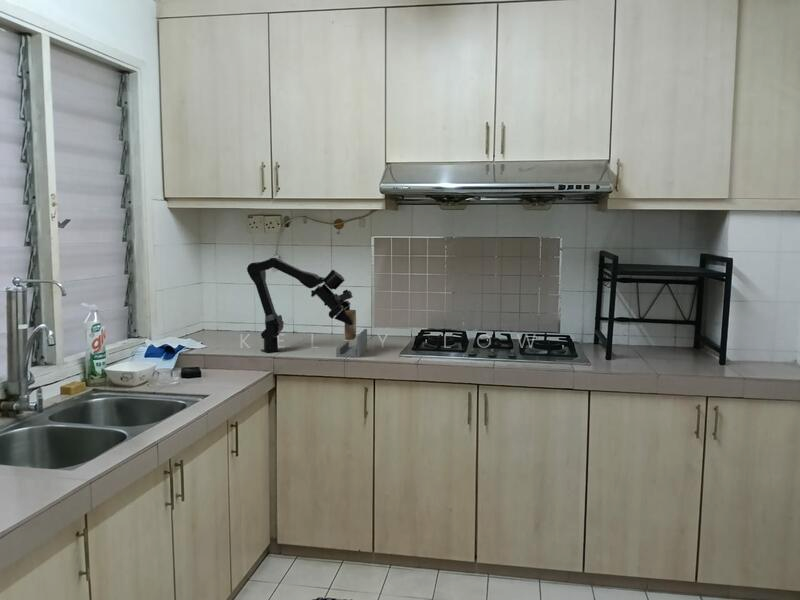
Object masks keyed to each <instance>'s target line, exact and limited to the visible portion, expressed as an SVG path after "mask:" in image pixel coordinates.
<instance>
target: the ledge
mask: <svg viewBox="0 0 800 600" xmlns="http://www.w3.org/2000/svg"><path fill="white" fill-rule="evenodd" d="M349 342H350V340H344V342H342V343H341V344H340V345H339V346H337V348H336V350H335V351H336V354H335V356H336V357H337V358H361V357H362V356H363V354H365V352H366V351H367V350H368V329H367V328H365V329H363V330H362V331H361V332H359V334H356V346H350V343H349Z"/></svg>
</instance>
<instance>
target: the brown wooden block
mask: <svg viewBox="0 0 800 600" xmlns="http://www.w3.org/2000/svg"><path fill="white" fill-rule="evenodd" d="M356 311H357V310H356V309H350V310H347V311H346V314H347V316H348V317H349V319H350V320H351V321H352V323H353V324H352V325H349V324H347V323H344V341H353V340H355V339H357V312H356Z"/></svg>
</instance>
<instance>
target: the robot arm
mask: <svg viewBox="0 0 800 600" xmlns="http://www.w3.org/2000/svg"><path fill="white" fill-rule="evenodd" d="M272 268H273V269H276V270H278V271H280V272H282V273H284V274H286V275H288V276H290V277H292V278H294V279H296V280H297V281H299V282H300V283H301V284H302V285H304V287H306V288H308V289H312V290H311V294H310V296H311V298H314V297H315V296H317V297H318V298H319V299H320V300H321V302H322V303H323V305H324V306H327V307H328V308H329V309H330V311H328V317H329V318H330V319H331V320H332V319H335V320H337V321H339V322H342V323H344V324H345V323H347V324H349V325H352V324H353V323H352V321H351V320H350V319H349V317H348V316H347V314H346V311H347V310H351V302H350V301H349V300H350V299H351V298H353V294H352V291H351V290H348V289H345V290H343V291H342V293H341V294H337V293H334V292H333V291H332V290H338V287H340V286H341V285H342V284H343V283H344V282H345V278H344V276H343V275H342V274H340V273H339V272H338V271H336V270H335V269H332V270H330V272H329V273H328V274H327V275H326V276H325V277H322V276H320V275H318V273H317V274H316V273H313V272H311V271H310V272H309V271H305V270H301V269H299V268H297V267H296V266H294V265H291V264H289V263H286V262H285V261H284V260H280V259H279V258H278V257H270V258H269V259H266V260H264V261H256V262H251V263H249V264H248V266H247V267H246V272H247V273H248V275H249V278H250V279H251V280H252V282H253V283H254V285H255V287H256V291H257V293H258V297H259V299H260V300H259V301H260V303H261V305H262V309H263V313H264V315H265V316H264V325H265V329H264V330H263V331H262V332H261V333H260V336H261V339H263V348H262V349H260V351H261V352H264V353H268V354H269V353H275V352H276V351H277V352H281V351H282V349H279V342H278V341H279V340H278V336H279V335H280V332H282V331H283V329H284V324H285V322H284V320H283V316H282V314H280V315H278V313H277V312H276V309H275V307H274V306H275V305H274V304H273V300H272V297H271V294H270V291H269V290H270V289H269V287H268V284H267V281H266V280H267V279H266V277H267V275H266V274H267V272H266V271H267V270H271V269H272ZM313 288H315V289H313Z"/></svg>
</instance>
